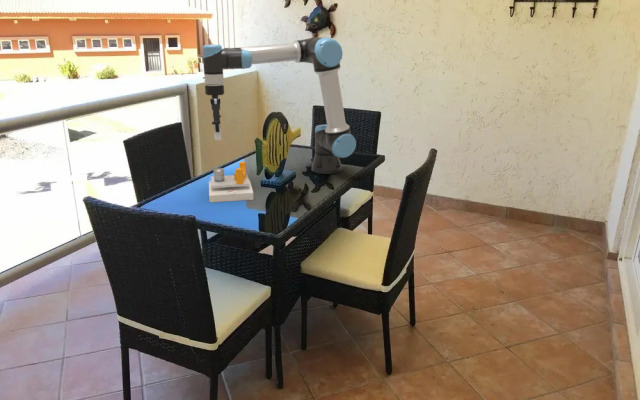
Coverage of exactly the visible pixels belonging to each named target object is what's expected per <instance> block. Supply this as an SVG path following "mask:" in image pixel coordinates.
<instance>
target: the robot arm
mask: <svg viewBox="0 0 640 400" xmlns="http://www.w3.org/2000/svg"><path fill="white" fill-rule="evenodd" d="M342 59H343V49H342V46H341V44H340V43H339V42H338V41H337V40H336V39H334V38H331V37H327V36H326V37H322V36H321V37H319V36H316V37H314V36H313V37H310V38H305V39H299V40H297V39H296V40H294V41H292V43H291V42H289V43H279V44H278V43H277V44H267V45H266V44H264V45H255V46H254V45H253V46H252V45H251V46H241V47H224V48H222V45H221V44H204V45H203V46H202V62H203V63H202V64H203V73H204V76H202V79H203V80H204V84H205V86H204V92H205V95H206V96H211V98H210V100H209V101H210V105H211V110H212V122H211V125H213V134H214V135H213V136H214V141H222V129H221V128H222V127H221V117H222V115H221V114H220V110H221V99H220V98H219V96H223V95H224V94H225V86H224V83H225V80H224V70H244V69H250V68H251V67H252V66H253V65H258V64H271V63H282V62H295V63H308V64H312V66H313V70H314V71H313V72H314V73H315V74H316V75H318V78H319V79H318V80H319V86H320V92H321V97H322V103H323V108H324V113H325V121H326V124H319V125H316V126H315V128H314V150H315V151H314V157H313V160H312V163H311V171H312V172H314V173H316V174H321V175H322V174H323V175H331V174H337V173H340V172H342V163H341V160H340V158H341V159H344V158H348V157H349V156H351V155H352V154H353V152H354V151H356V150H355V149H356V148H357V147H356V145H357V141H356V138H355V136H354V135H353V134H351V129H350V128H351V127H350V125H349V124H347V122H346V117H345V112H344V111H345V110H344V105H343V97H342V91H341V85H340V78H339V71H340V69H341V63H340V62H341V61H342Z"/></svg>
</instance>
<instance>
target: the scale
mask: <svg viewBox="0 0 640 400" xmlns="http://www.w3.org/2000/svg"><path fill="white" fill-rule="evenodd" d="M224 177H225V181H223V182H215V181H214V175H212V176H210V180H208V198H209V203H221V202H223V203H224V202H236V201H237V202H238V201H253V200H254V190H253V187H252V183H251V180H250V178H249V176H248V174H247V173H246V178H245V180H244V183H243V184H237V183H236V180H234V174H231V175H224Z"/></svg>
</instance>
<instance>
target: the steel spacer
mask: <svg viewBox="0 0 640 400" xmlns="http://www.w3.org/2000/svg"><path fill="white" fill-rule="evenodd" d="M213 176H214V181H215V182H223V181H225V177H224V176H225V168H222V167H217V168H215V167H214V169H213Z"/></svg>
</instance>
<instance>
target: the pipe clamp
mask: <svg viewBox="0 0 640 400" xmlns="http://www.w3.org/2000/svg"><path fill="white" fill-rule="evenodd" d="M246 174H247V162H246V161H240V162H239V165H238V168H236V169H235V171H234V174H233V175H234V180H236V183H237V184H243V183H244V180H245V178H246Z"/></svg>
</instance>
